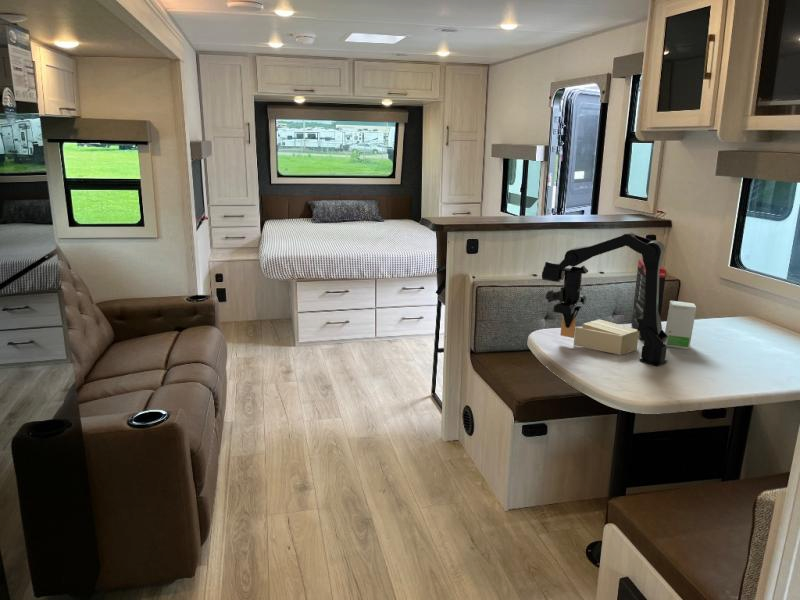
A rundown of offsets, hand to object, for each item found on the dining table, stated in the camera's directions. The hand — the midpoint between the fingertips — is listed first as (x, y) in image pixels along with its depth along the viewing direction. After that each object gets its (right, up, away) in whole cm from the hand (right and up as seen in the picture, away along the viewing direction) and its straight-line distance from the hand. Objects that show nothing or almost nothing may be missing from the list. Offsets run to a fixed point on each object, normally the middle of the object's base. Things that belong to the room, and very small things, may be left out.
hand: (568, 327), depth 209 cm
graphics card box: (+33, -4, +15) cm, 36 cm away
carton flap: (+7, -7, -3) cm, 10 cm away
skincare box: (+40, -7, +3) cm, 41 cm away
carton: (+15, -7, +1) cm, 16 cm away
